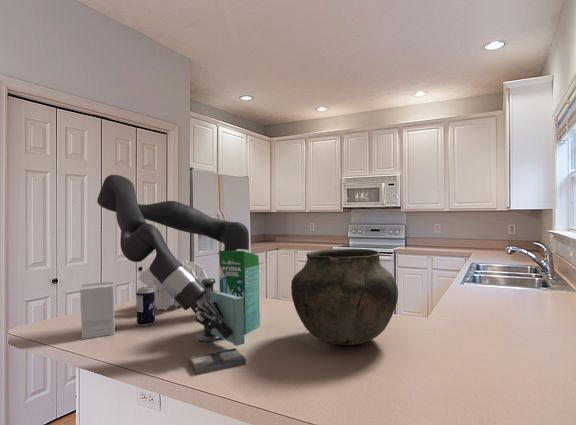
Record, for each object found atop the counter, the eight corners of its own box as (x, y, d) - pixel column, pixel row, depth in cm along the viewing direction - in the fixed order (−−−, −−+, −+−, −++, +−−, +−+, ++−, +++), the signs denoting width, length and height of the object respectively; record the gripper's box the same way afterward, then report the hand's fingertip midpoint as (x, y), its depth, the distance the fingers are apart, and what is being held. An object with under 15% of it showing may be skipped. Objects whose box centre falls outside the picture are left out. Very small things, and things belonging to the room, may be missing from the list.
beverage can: (151, 327, 118) (150, 289, 118) (133, 327, 118) (133, 290, 118) (157, 321, 124) (157, 286, 124) (141, 322, 124) (140, 286, 124)
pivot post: (217, 332, 111) (216, 276, 111) (224, 339, 105) (223, 280, 105) (194, 336, 108) (193, 279, 108) (199, 343, 102) (198, 282, 102)
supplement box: (114, 327, 119) (113, 281, 119) (114, 334, 111) (114, 285, 111) (82, 331, 115) (81, 283, 115) (80, 339, 107) (80, 288, 107)
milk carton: (260, 326, 117) (258, 248, 117) (245, 334, 109) (243, 250, 109) (236, 323, 121) (234, 247, 121) (220, 331, 113) (218, 250, 113)
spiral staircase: (205, 309, 155) (159, 322, 133) (178, 288, 163) (130, 297, 141) (220, 271, 153) (176, 277, 131) (192, 252, 161) (146, 255, 139)
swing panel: (209, 334, 104) (209, 291, 104) (217, 332, 105) (216, 290, 105) (236, 346, 94) (235, 299, 94) (244, 343, 95) (243, 297, 95)
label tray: (235, 353, 94) (235, 346, 94) (246, 364, 87) (245, 357, 87) (188, 362, 89) (188, 355, 89) (195, 374, 82) (195, 367, 82)
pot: (273, 357, 91) (271, 257, 91) (309, 321, 121) (308, 246, 121) (394, 372, 81) (392, 260, 81) (401, 329, 111) (400, 247, 111)
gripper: (183, 292, 103) (225, 337, 102) (164, 303, 90) (212, 355, 89) (202, 273, 103) (244, 318, 102) (185, 282, 89) (234, 333, 88)
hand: (229, 335), depth 95 cm, fingers closed
